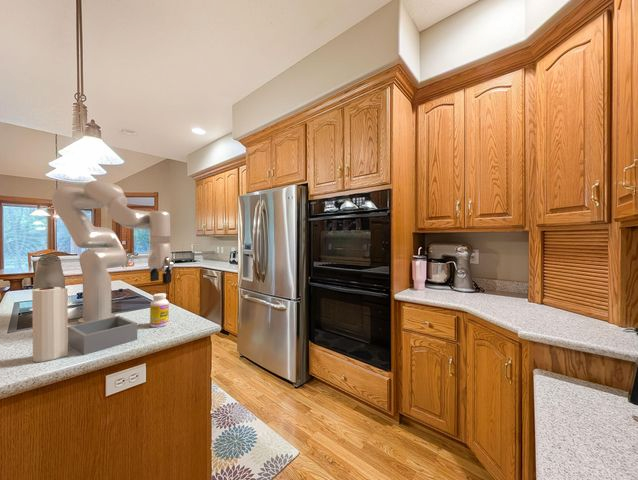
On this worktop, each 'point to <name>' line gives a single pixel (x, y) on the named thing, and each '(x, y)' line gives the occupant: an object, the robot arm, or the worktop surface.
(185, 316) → the worktop surface
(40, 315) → the paper towel roll
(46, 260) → the grey rounded cylinder
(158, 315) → the supplement bottle
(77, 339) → the walled box
